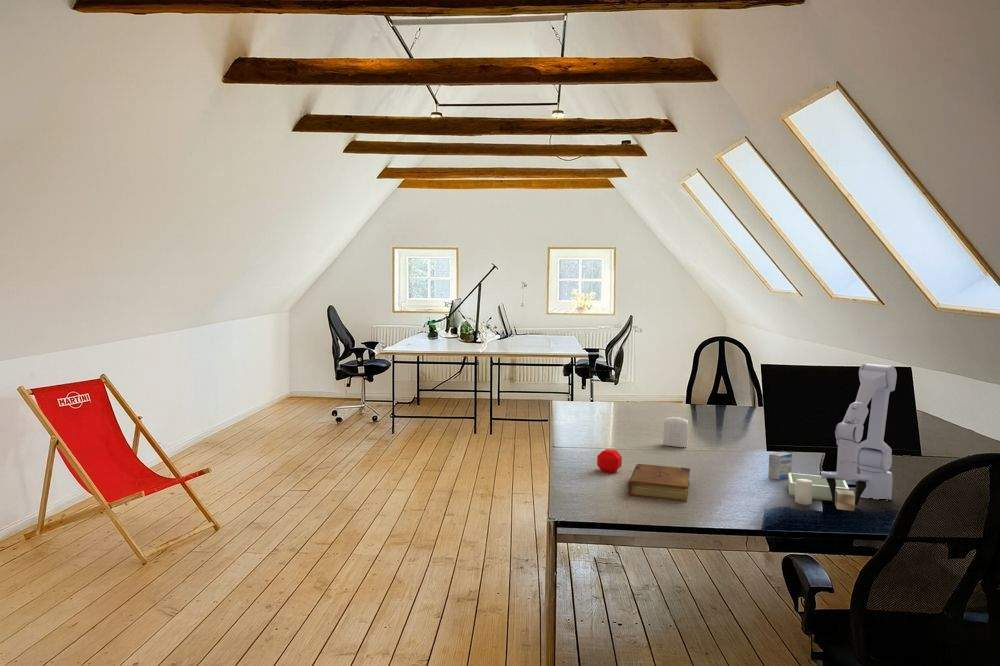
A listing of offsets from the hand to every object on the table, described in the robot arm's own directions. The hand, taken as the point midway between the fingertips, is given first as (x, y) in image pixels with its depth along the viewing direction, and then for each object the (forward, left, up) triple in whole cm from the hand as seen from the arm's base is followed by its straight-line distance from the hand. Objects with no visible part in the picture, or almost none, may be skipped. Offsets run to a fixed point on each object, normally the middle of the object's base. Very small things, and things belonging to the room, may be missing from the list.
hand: (844, 503), depth 231 cm
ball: (+77, -14, -2) cm, 78 cm away
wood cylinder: (+12, -1, -1) cm, 12 cm away
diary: (+57, +2, -2) cm, 57 cm away
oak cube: (0, 0, -2) cm, 2 cm away
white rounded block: (+58, -65, -2) cm, 87 cm away
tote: (+7, -13, -1) cm, 15 cm away
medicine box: (+18, -30, -2) cm, 35 cm away
